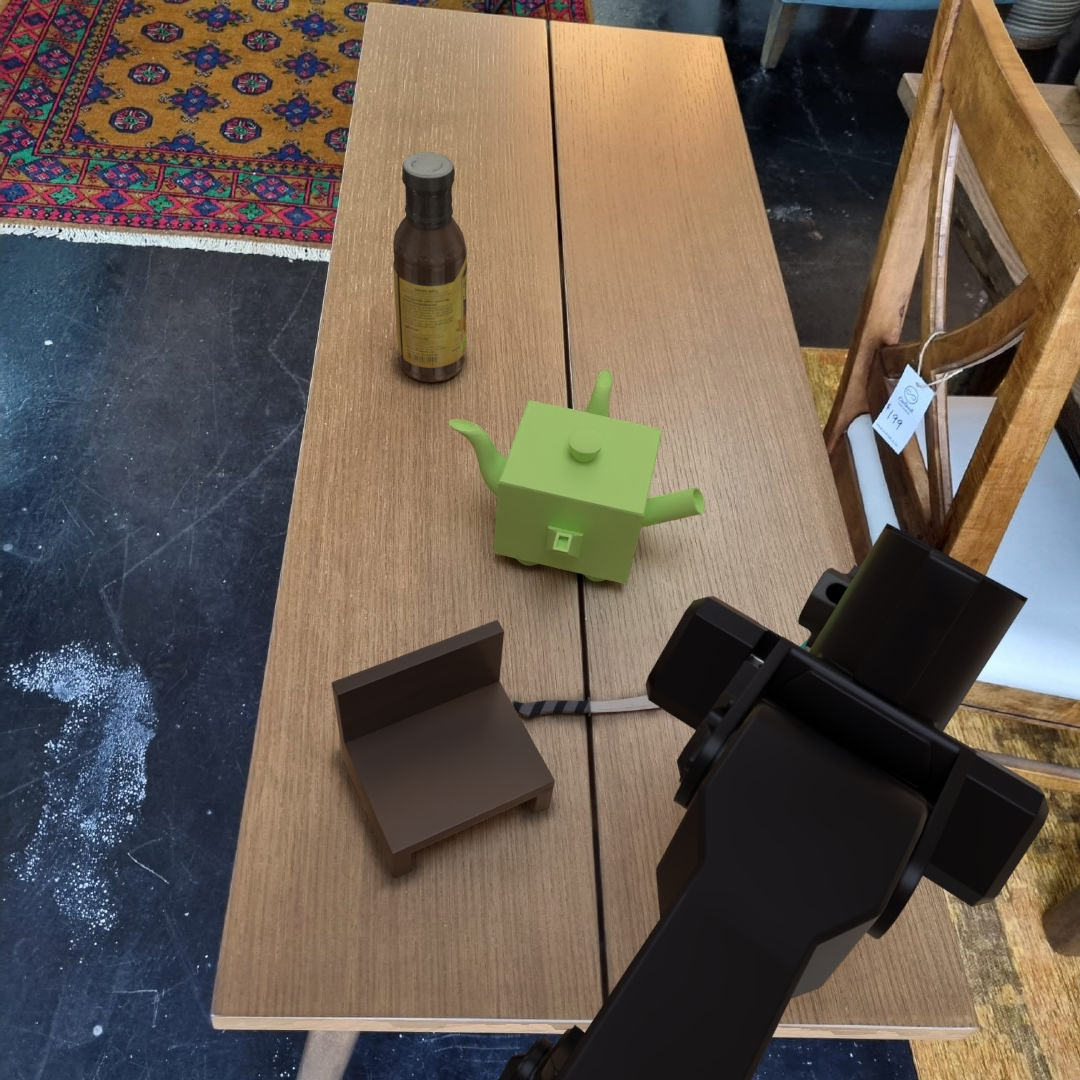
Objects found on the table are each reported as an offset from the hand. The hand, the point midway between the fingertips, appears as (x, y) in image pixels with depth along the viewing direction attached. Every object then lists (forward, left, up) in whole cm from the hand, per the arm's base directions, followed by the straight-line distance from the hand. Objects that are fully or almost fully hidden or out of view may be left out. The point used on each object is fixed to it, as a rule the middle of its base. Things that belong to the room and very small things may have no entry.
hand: (844, 718), depth 57 cm
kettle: (+28, +1, -13) cm, 31 cm away
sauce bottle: (+51, +3, -13) cm, 53 cm away
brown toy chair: (+12, +19, -13) cm, 26 cm away
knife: (+12, +4, -13) cm, 19 cm away
